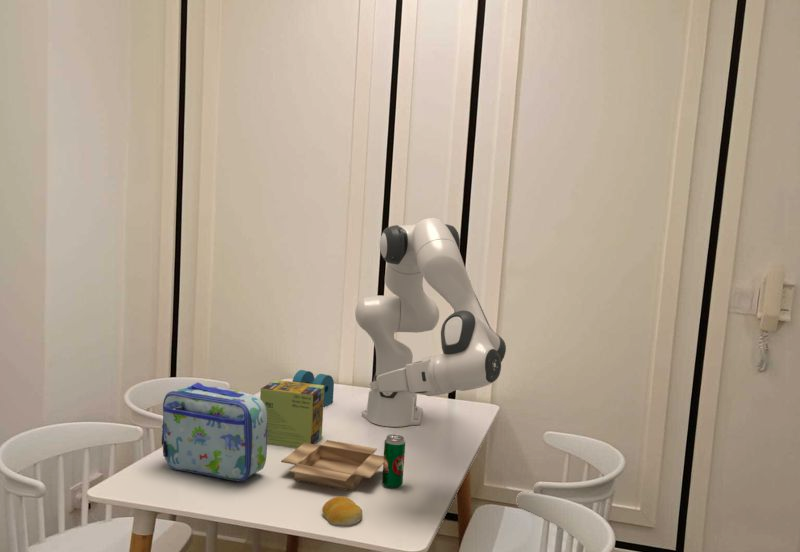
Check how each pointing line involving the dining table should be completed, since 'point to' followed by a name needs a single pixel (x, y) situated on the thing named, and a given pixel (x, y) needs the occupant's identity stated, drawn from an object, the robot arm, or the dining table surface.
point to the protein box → (293, 412)
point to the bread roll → (342, 511)
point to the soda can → (393, 461)
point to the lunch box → (214, 432)
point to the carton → (334, 464)
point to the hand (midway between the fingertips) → (383, 384)
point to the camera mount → (317, 383)
